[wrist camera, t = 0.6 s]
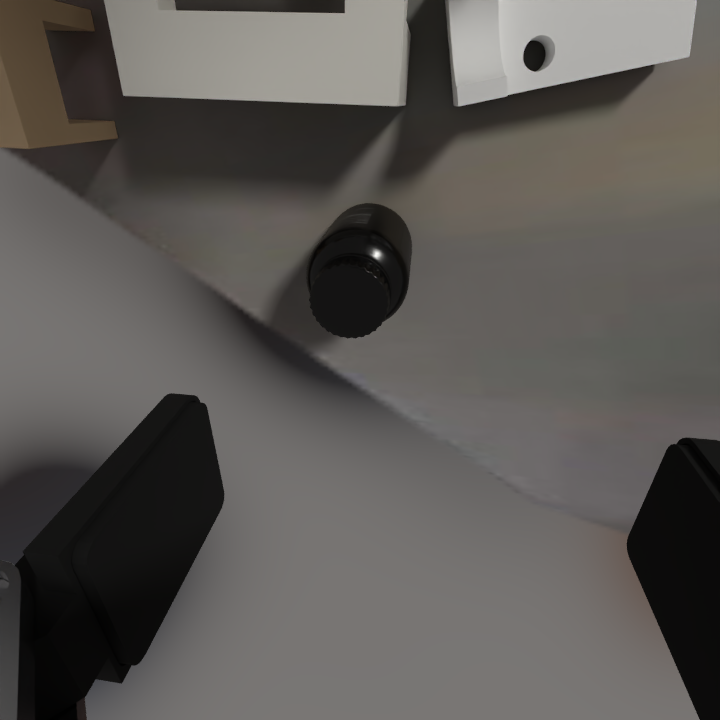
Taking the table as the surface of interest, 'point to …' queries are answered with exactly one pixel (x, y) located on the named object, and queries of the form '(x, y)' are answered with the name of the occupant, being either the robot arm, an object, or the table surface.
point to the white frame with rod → (263, 53)
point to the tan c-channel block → (39, 77)
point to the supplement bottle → (360, 270)
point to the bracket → (558, 41)
